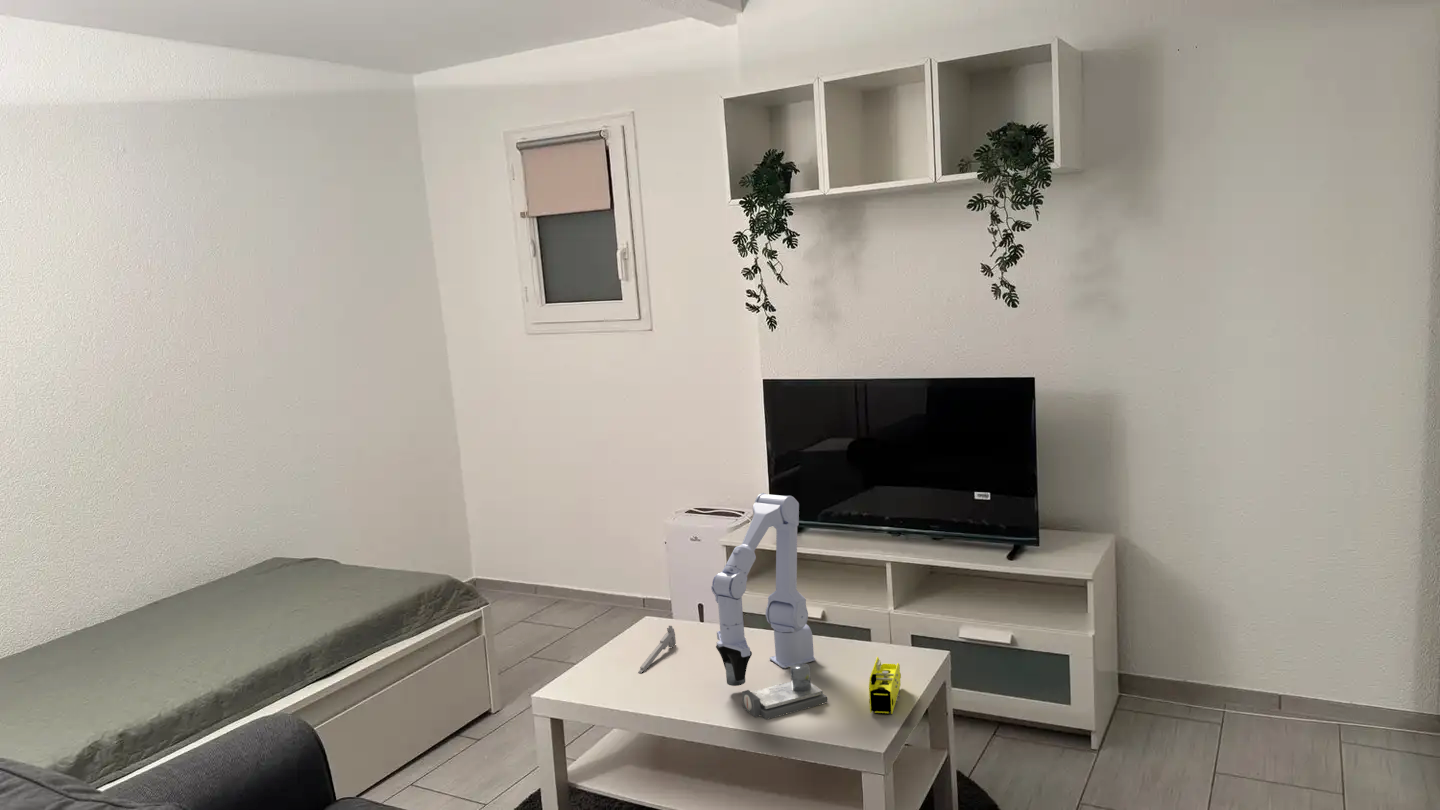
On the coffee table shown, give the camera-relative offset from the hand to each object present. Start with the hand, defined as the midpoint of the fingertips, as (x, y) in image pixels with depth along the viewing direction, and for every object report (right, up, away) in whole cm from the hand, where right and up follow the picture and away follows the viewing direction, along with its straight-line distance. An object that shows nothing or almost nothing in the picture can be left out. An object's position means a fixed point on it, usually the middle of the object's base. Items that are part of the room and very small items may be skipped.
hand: (735, 676), depth 251 cm
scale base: (+12, -4, -8) cm, 14 cm away
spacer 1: (0, -1, 0) cm, 2 cm away
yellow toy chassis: (+34, -3, -11) cm, 36 cm away
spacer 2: (+15, -1, -6) cm, 17 cm away
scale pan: (+11, -2, -8) cm, 14 cm away
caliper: (-20, -3, +26) cm, 33 cm away
